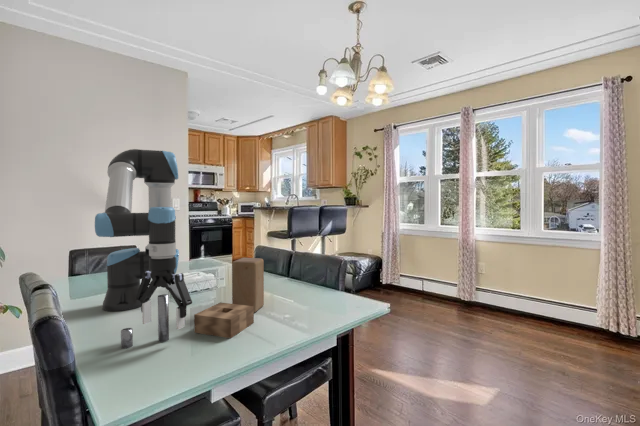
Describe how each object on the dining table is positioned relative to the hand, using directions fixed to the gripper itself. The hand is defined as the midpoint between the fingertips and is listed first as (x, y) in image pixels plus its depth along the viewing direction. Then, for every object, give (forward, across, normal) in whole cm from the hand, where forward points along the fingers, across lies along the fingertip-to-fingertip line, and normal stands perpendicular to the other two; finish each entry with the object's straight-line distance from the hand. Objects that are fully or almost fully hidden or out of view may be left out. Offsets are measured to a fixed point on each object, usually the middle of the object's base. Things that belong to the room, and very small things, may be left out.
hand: (163, 325), depth 102 cm
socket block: (+5, +12, +15) cm, 20 cm away
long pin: (+5, 0, 0) cm, 5 cm away
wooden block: (+5, +9, +35) cm, 37 cm away
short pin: (+5, -7, -7) cm, 11 cm away
